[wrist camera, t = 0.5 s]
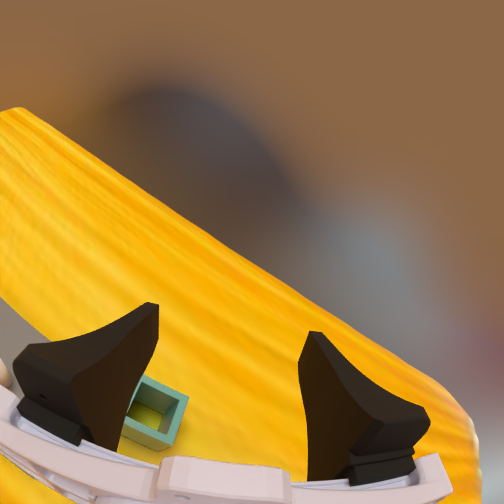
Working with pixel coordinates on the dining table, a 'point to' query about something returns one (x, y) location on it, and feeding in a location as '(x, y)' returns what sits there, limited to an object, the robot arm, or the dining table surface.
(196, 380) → the dining table surface
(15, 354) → the stub board
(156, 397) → the sleeve
